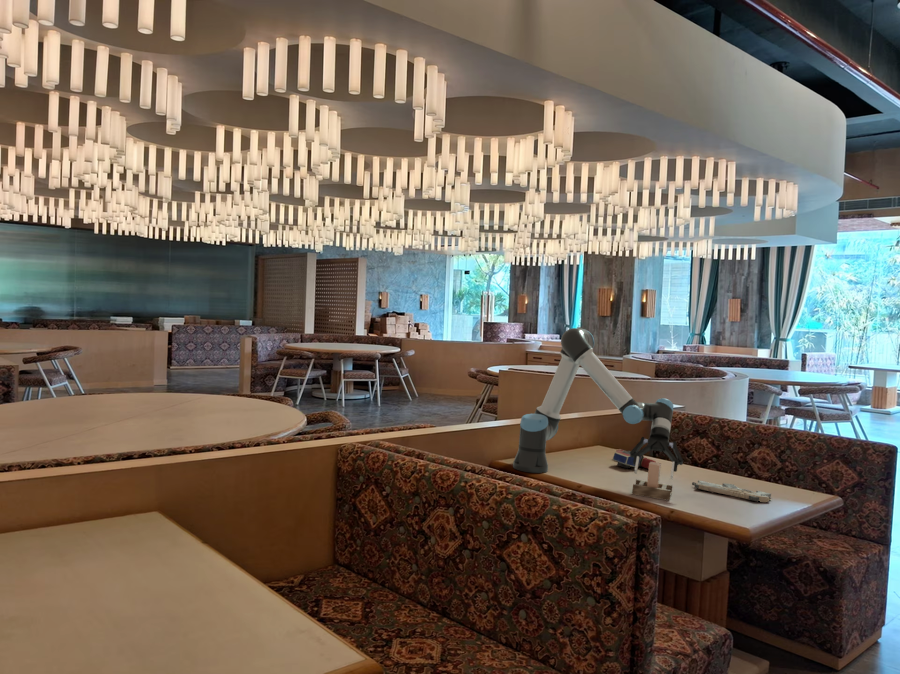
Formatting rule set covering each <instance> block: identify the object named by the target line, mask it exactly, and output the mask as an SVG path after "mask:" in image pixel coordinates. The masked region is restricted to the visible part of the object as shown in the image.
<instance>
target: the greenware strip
mask: <svg viewBox="0 0 900 674" xmlns="http://www.w3.org/2000/svg"><path fill="white" fill-rule="evenodd" d="M661 465H662V463H660V462H657V461H656V462H650V463H649V469H648V472H647V480H646V481H647V486H649V487H655V488H659V483H660V477H661V468H662V467H661Z"/></svg>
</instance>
